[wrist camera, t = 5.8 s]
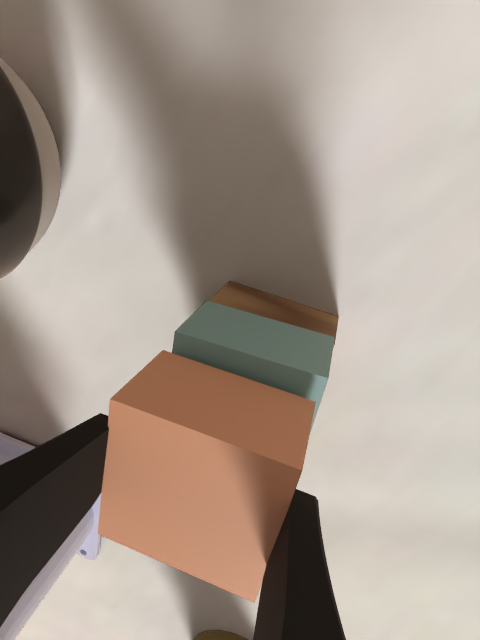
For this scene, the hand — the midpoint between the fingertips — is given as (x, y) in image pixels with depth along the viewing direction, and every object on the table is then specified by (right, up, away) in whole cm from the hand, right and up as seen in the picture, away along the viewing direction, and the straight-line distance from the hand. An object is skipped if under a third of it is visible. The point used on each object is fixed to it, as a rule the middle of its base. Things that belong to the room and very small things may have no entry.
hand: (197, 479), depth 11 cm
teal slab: (+2, +2, +5) cm, 6 cm away
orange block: (+1, +1, +2) cm, 2 cm away
